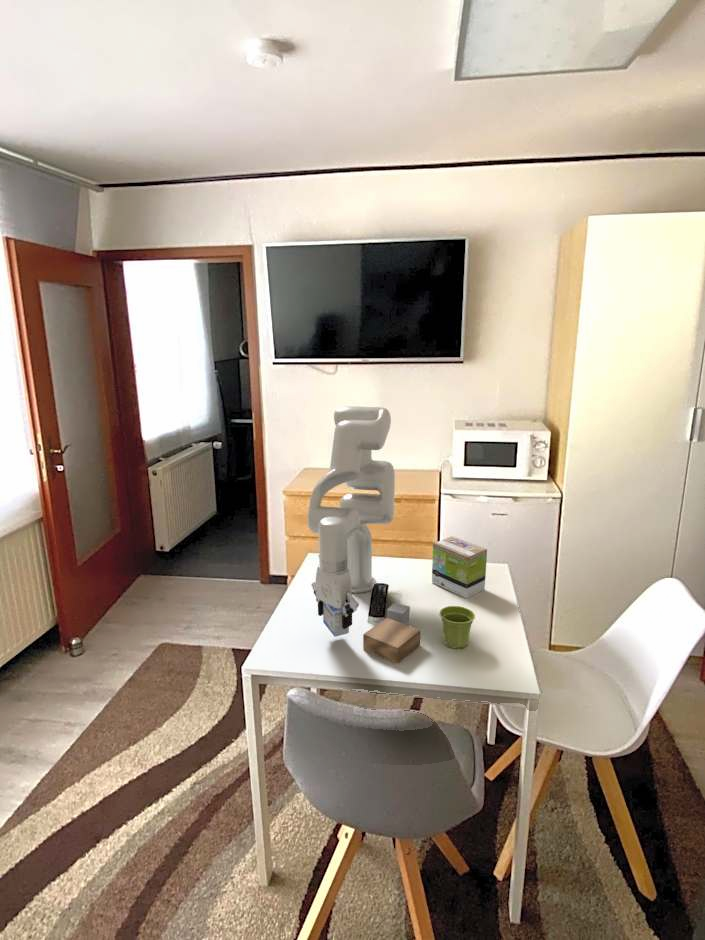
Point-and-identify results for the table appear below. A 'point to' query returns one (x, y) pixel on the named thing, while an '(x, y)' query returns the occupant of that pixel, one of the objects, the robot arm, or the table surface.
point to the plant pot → (456, 625)
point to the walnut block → (391, 640)
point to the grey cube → (399, 613)
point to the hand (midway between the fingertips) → (335, 620)
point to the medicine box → (334, 619)
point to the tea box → (459, 566)
